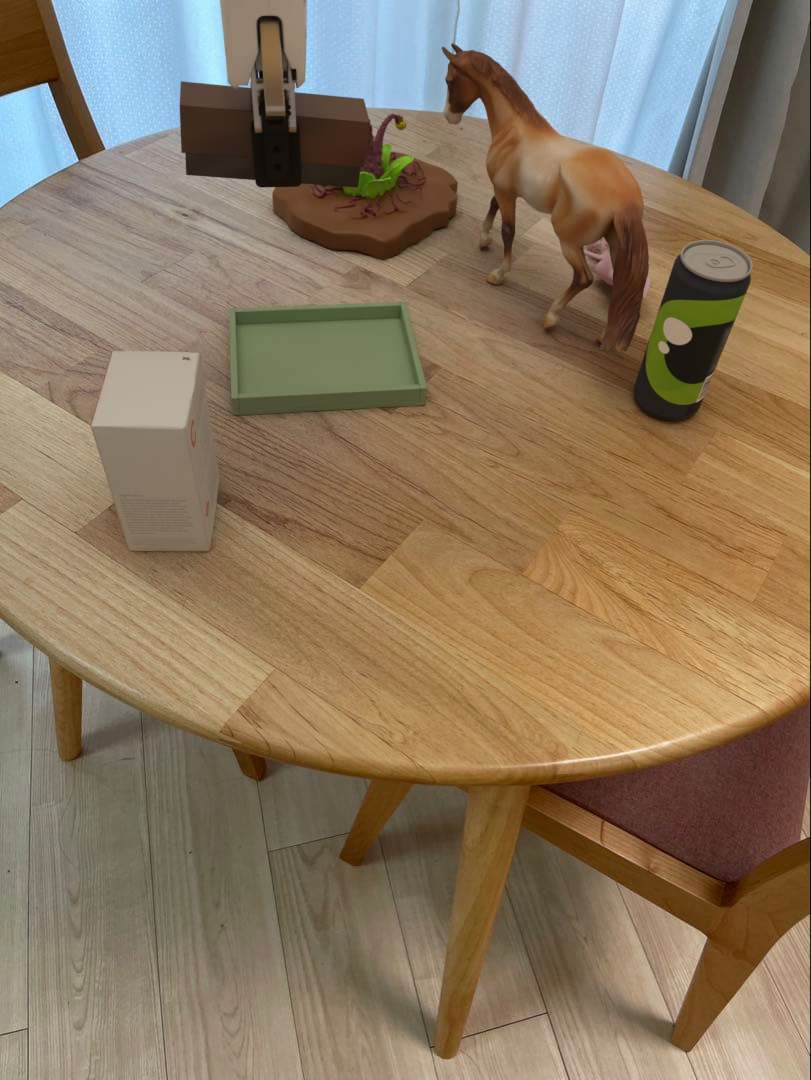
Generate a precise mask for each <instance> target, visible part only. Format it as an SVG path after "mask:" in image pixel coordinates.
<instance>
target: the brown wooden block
mask: <svg viewBox="0 0 811 1080" xmlns="http://www.w3.org/2000/svg"><path fill="white" fill-rule="evenodd" d="M284 98H285V100H287V98H286V92H284ZM261 100H265V98H264V92H260V102H261ZM295 109H296V126H299V128H300V150H301V174H302V183H301V184H314V185H328V186H341V187H355V188H358V185H359V176H360V168H361V167H364V166H365V158H366V149H367V141H368V133H369V124H371V121H370V122H369V119H370V118H369V114H368V110H367V106H366V102H365V99H364V98H360V97H350V96H338V95H328V94H318V93H308V92H307V93H306V92H296V91H295ZM262 121H263V119H262ZM179 124H180V126H179V127H180V129H179V130H180V149H181V150H180V152H181V153H182V154H185V157H184V158H185V175H186V176H193V177H194V176H195V177H205V178H206V177H208V178H221V179H235V180H236V179H237V180H248V181H255V171H254V159H253V147H252V135H251V127H255V126H254V113H253V101H252V90H251V87H245V86H238V89H234V88H233V87H232V86H231V85H224V84H213V83H203V82H191V81H182V80H181V81H180V90H179Z"/></svg>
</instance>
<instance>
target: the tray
mask: <svg viewBox="0 0 811 1080" xmlns="http://www.w3.org/2000/svg"><path fill="white" fill-rule="evenodd" d="M408 309H409V308H408V306H407V301H389V302H388V301H386V302H361V303H337V304H333V303H332V304H311V305H307V304H305V305H284V306H283V305H282V306H281V305H280V306H257V307H255V306H254V307H231V308H228V328H229V330H228V331H229V363H230V365H229V366H230V367H229V369H230V399H231V401H230V402H231V408H232V415H233V416H247V415H268V414H269V415H270V414H283V413H285V414H286V413H287V414H288V413H305V412H323V411H341V410H359V409H360V410H361V409H376V408H377V409H378V408H380V409H381V408H395V407H398V408H399V407H413V406H415V407H416V406H426V403H427V393H428V387H427V382H426V378H425V374H424V371H423V366H422V361H421V358H420V353H419V350H418V346H417V342H416V337H415V334H414V330H413V326H412V323H411V317H410V314H409V310H408Z"/></svg>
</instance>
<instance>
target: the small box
mask: <svg viewBox="0 0 811 1080" xmlns="http://www.w3.org/2000/svg"><path fill="white" fill-rule="evenodd" d="M205 383H206V382H205V377H204V371H203V365H202V359H201V353H200V352H191V351H158V350H157V351H156V350H152V351H151V350H143V351H142V350H120V351H119V350H112V351H111V353H110V357H109V360H108V364H107V367H106V371H105V374H104V377H103V381H102V385H101V387H100V392H99V395H98V397H97V401H96V402H97V403H96V406H95V410H94V413H93V416H92V420H91V424H90V428H91V432H92V435H93V437H94V441H95V445H96V448H97V452H98V454H99V457H100V460H101V464H102V467H103V471H104V474H105V476H106V481H107V484H108V486H109V490H110V494H111V497H112V500H113V503H114V506H115V510H116V513H117V517H118V519H119V522H120V526H121V530H122V533H123V536H124V539H125V543H126V546H127V550H128V551H130V552H209V551H211V547H212V546H211V545H212V540H213V532H214V526H215V525H214V524H215V518H216V510H217V503H218V495H219V488H220V482H221V481H220V472H219V466H218V460H217V454H216V448H215V442H214V437H213V430H212V424H211V418H210V417H211V415H210V409H209V403H208V397H207V391H206V384H205Z"/></svg>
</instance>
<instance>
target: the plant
mask: <svg viewBox="0 0 811 1080" xmlns="http://www.w3.org/2000/svg"><path fill="white" fill-rule="evenodd" d="M393 119H394V125H395V128H396V129H397V130H399V131H404V130H405V129H406V128H407V120H406V118H404V116H402V115H400V114H395V113H391V114H389V115H387V117H385V118H384V120H383V121H381V124H380V125H379V127H378V128H379V129H377V132H376V134H375V136H374V135H373V125H372V124H371V119H370V118H369V122H370V124H369V133H368V141H367V149H366V158H365V166H364V167H361V168H360V176H359V185H358V188H355V187H341V186H328V185H314V184H301V185H300V186H298V187H274V189H273V190H272V194H271V196H272V197H271V198H272V210H273V213H274V214H276V216H277V217H279V218H281V219H282V220H283V221H284V222H286V223H287V225H288V227H289V228H290V230H291V231H292V232H293V233H295V234H297V235H298V236H300V237H301V238H303V239H305V240H308V241H311V242H313V243H316V244H318V245H320V246H322V247H325V248H327V249H329V250H333V251H352V252H353V251H355V252H357V253H358V252H359V253H362V254H365V255H368V256H371V257H375V258H377V259H380V260H383V261H384V260H386V259H388V258H390V257H395V256H397V255H399V254H401V253H402V252H403V251H404V250H405V249H407V248H408V247H410V246H412V245H414V244H417V243H420V242H422V241H423V240H424V239H425V238H427V237H428V236H429V234H431V232H433V231H434V230H437V229H441V228H446V227H448V226H449V223H450V222H449V221H450V218H449V217H450V216H453V215H454V214H455V213H456V214H457V206H458V195H457V194H458V193H457V192H458V187H459V185H458V180H457V179H456V177H454V176H453V174H452V173H450V172H449V171H448V170H447V169H444V168H442V167H439V166H437V165H434V164H431V163H429V162H426V161H423V160H421V159H419V158H417V157H414V156H413V155H408V154H406V153H403V152H399V151H392V144H391V143H386V144H384V137H385V133H386V130H387V128H388V126H389V123H390V122H392V120H393ZM456 214H455V215H456ZM453 217H454V216H453ZM445 226H446V227H445Z"/></svg>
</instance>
